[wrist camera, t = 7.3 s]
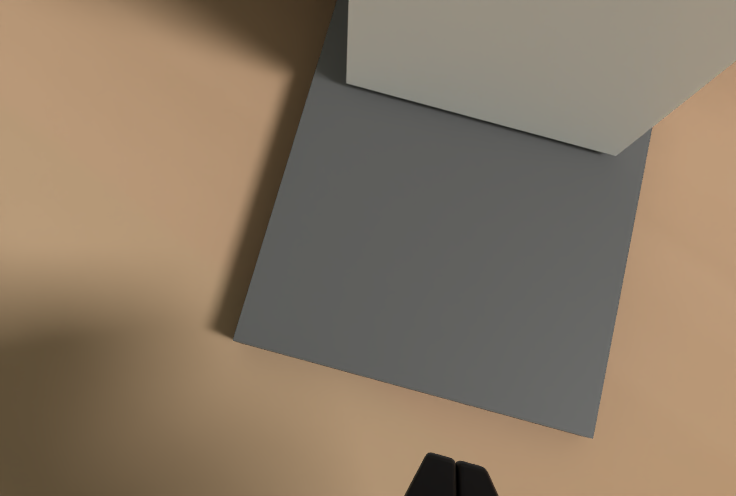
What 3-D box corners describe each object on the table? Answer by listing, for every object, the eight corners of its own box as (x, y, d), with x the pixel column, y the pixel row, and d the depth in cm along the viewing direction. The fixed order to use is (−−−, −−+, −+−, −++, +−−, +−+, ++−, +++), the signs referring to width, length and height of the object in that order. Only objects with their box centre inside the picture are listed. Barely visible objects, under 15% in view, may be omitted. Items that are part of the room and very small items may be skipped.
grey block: (791, 493, 17) (1305, 624, 8) (29, 284, 17) (-314, 183, 8) (853, 22, 19) (1288, -277, 10) (193, -154, 19) (74, -596, 11)
